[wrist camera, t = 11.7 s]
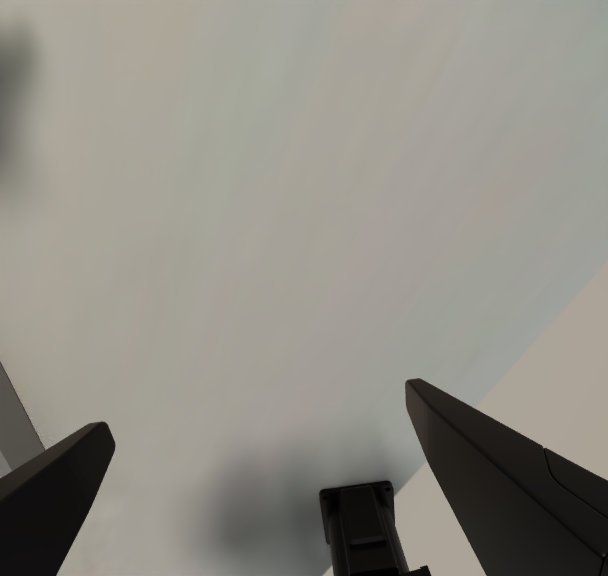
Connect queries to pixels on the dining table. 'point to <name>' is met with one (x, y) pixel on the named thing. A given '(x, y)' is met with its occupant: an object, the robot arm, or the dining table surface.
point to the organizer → (15, 430)
